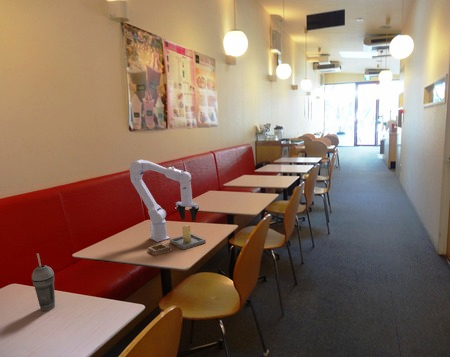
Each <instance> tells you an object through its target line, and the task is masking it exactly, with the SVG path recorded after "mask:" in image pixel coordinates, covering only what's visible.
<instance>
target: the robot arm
mask: <svg viewBox="0 0 450 357" xmlns="http://www.w3.org/2000/svg"><path fill="white" fill-rule="evenodd" d="M128 170H129V176H130V182H131V183H132V185H133V187H134V188H135V190H136V191H137V193H138V195H139V197H140V198H141V200H142V201H143V203H144V205H145V207H146V208H147V212H148V215H149V220H150V225H149V229H150V236H149V238H150V239H151V240H153V241H155V242H157V243H158V242H161V241H165V240H168V239H169V240H170V239H171V237H170V236H168V232H167V231H168V230H167V222H166V219H165V218H166V217H167V212H166V210H165V209H163V208H162V207H161V205H159V204H158V203H157V202H156V200H155V198H154V196H153V195H152V193H151V192H150V190H149V188H148V186H147V185H146V183H145V182H144V180H143V176H144V173H145V172H147V171H153V172H155V173H156V172H157V173H159V174H163V175H164V176H165V178H167V179H171V180H173V181H175V182H178V183H179V184H180V187H179V188H180V198H181V199H180V200H181V201H177V202H175V206H176V207H175V209H176V210H177V212H178V214H179V216H180V219H181V220H182V221H183V220H185V219H186V209H187V208H189V209H188V211H189V212H190V215H191V216H190V217H191V222H196V220H197V215H198V212H199V210H200V204H199V203H197V202H194V201H193V191H192V184H191V183H192V181H191V180H192V174H191V173H190V172H189V171H186V170H185V171H184V170H182V169H181V170H180V169H178V168H175V166H169V167H164V166H162V165H159V164H158V163H155V162H152V161H150V160H145V159H142V158H141V159H138V160H135V161H133V162H132V163H130V166H129V168H128Z"/></svg>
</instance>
